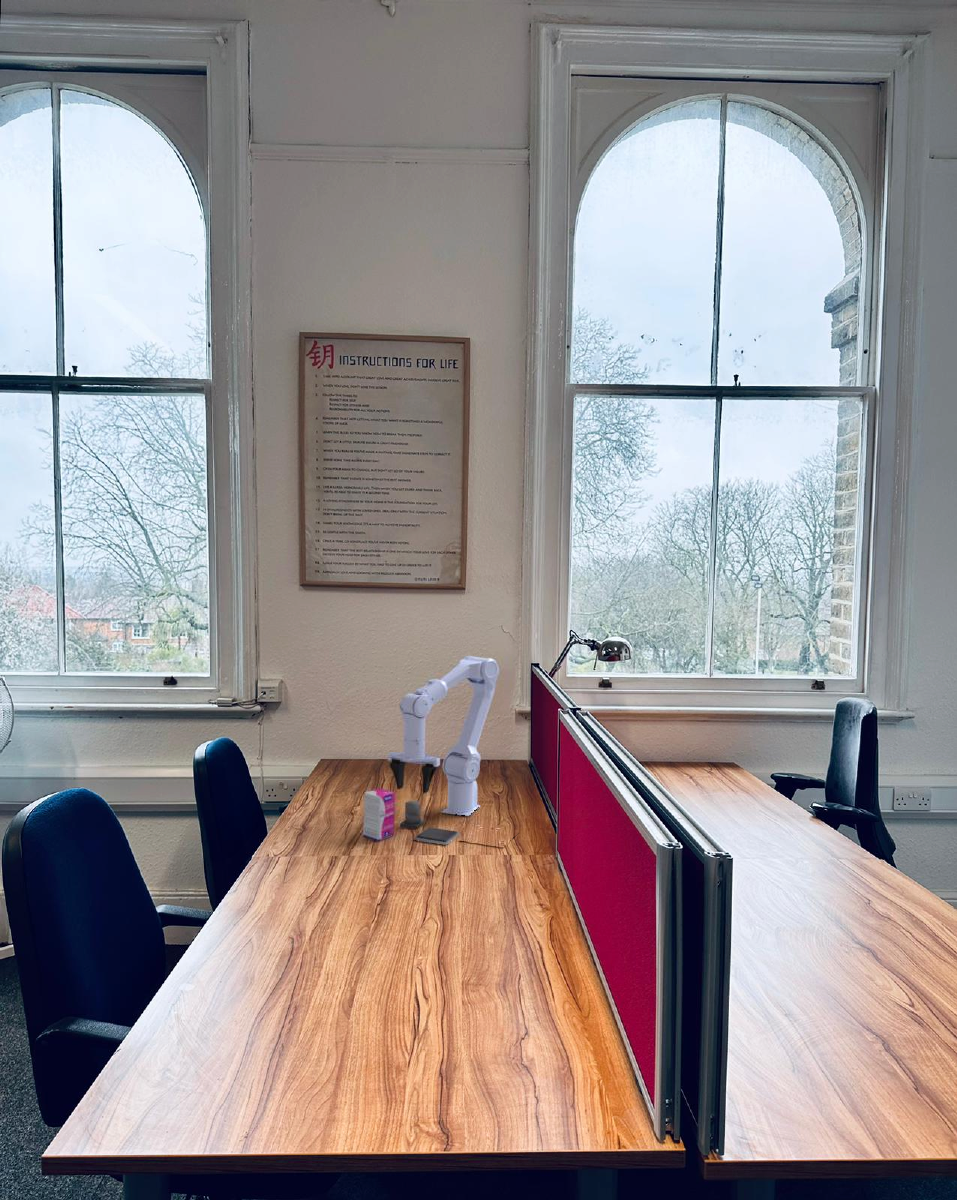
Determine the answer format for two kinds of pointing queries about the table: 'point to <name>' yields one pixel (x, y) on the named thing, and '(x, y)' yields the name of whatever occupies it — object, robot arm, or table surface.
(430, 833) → the ink pad
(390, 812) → the supplement box
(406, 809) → the stamp
